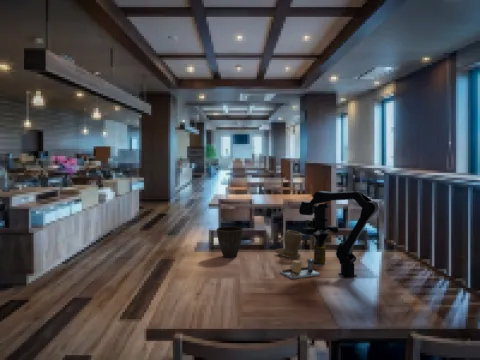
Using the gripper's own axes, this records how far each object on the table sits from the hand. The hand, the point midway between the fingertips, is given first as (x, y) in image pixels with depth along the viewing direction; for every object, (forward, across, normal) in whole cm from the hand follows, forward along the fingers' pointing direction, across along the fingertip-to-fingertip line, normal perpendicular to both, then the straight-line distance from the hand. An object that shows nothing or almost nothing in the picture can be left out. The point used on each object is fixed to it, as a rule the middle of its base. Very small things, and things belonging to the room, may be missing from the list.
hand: (319, 247), depth 216 cm
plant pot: (+12, +30, -46) cm, 56 cm away
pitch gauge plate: (+12, +12, +1) cm, 17 cm away
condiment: (+12, -8, -13) cm, 20 cm away
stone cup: (+12, -2, -33) cm, 35 cm away
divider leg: (+11, +14, 0) cm, 18 cm away
